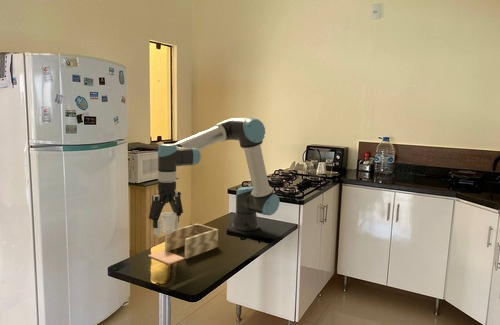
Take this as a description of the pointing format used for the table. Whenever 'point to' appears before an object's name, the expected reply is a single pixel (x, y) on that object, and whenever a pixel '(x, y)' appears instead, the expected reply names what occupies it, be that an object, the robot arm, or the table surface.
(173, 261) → the tailgate
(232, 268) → the table surface
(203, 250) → the box
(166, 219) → the cup
